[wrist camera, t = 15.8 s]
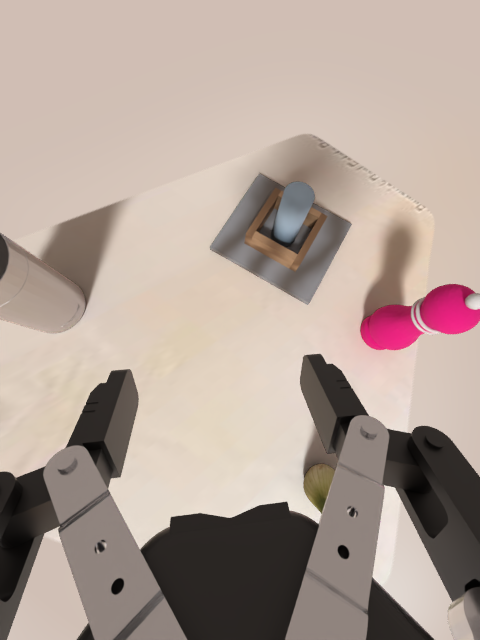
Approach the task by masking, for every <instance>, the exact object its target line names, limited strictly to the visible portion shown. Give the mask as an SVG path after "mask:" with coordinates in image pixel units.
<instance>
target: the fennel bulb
mask: <svg viewBox="0 0 480 640" xmlns="http://www.w3.org/2000/svg"><path fill="white" fill-rule="evenodd" d="M334 472H335V470H334V469H333V468H331V467H330V466H329V465H326V464H317V465H314V466H312V467H311V468H310V469H309V470H308V471H307V473H306V475H305V478H304V491H305V493H306V495H307V497H308V499H309V500H310V501H311V502H312V504H313V505H315V507H316V508H317V509H318V510H319V511H320V512H321V514H322V512H323V508H324V505H325V502H326V499H327V495H328V492H329V489H330V485H331V482H332V479H333V476H334Z"/></svg>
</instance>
